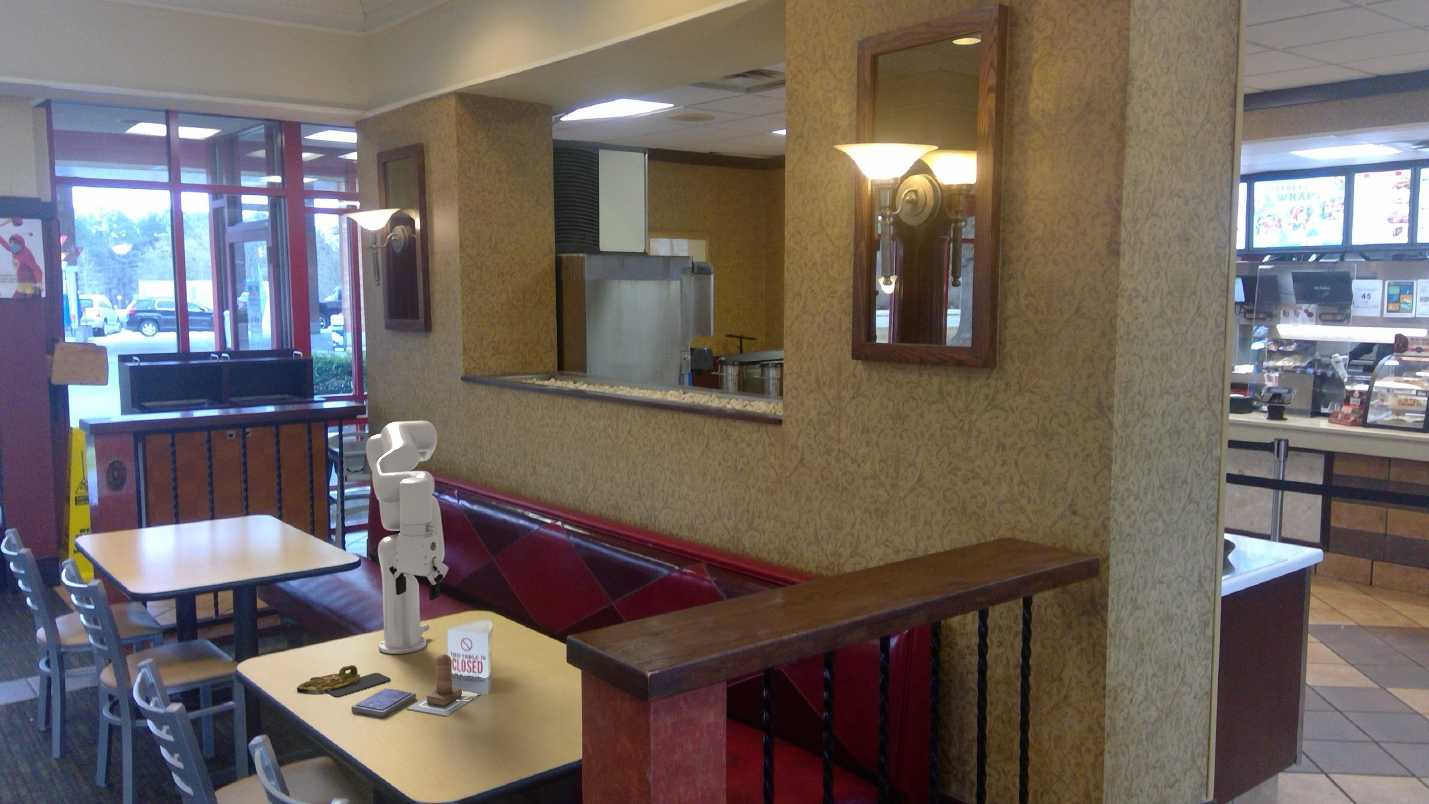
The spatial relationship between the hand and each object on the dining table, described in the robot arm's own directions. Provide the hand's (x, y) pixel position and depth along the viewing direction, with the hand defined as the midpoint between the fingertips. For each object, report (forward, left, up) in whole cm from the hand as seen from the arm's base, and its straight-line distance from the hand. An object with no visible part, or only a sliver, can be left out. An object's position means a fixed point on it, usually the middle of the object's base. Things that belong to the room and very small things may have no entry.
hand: (417, 596), depth 248 cm
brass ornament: (+7, -22, -24) cm, 33 cm away
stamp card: (+5, +11, -23) cm, 26 cm away
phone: (+4, -15, -24) cm, 29 cm away
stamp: (+5, +11, -23) cm, 26 cm away
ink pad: (+12, -1, -23) cm, 26 cm away
